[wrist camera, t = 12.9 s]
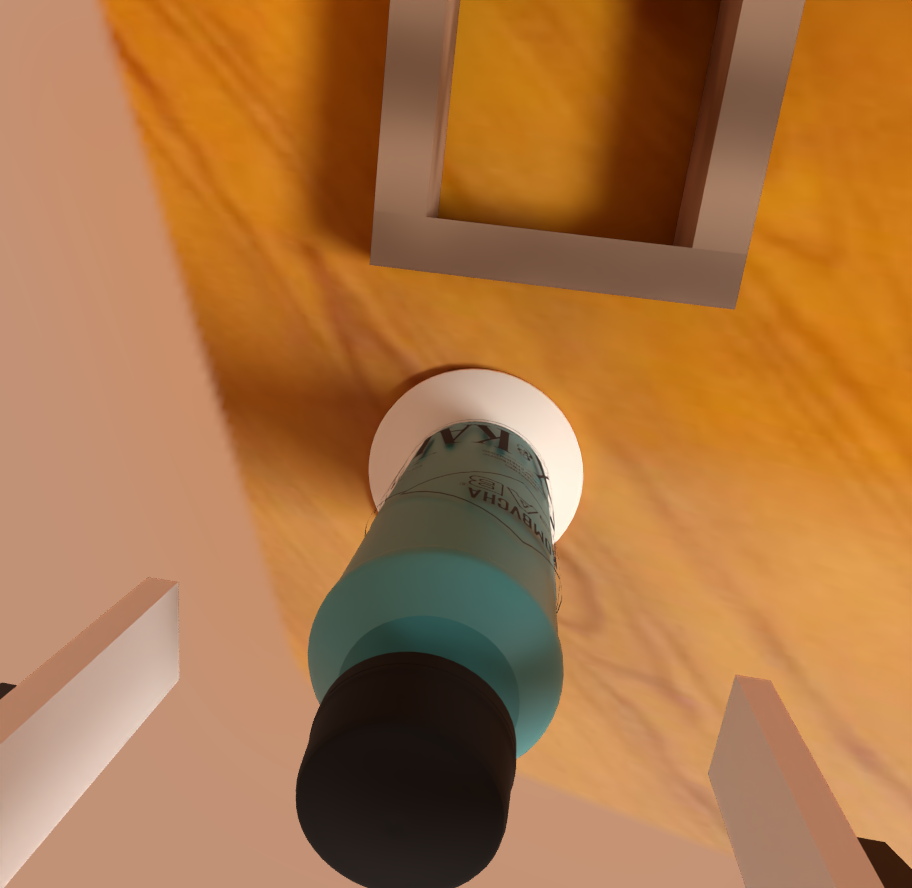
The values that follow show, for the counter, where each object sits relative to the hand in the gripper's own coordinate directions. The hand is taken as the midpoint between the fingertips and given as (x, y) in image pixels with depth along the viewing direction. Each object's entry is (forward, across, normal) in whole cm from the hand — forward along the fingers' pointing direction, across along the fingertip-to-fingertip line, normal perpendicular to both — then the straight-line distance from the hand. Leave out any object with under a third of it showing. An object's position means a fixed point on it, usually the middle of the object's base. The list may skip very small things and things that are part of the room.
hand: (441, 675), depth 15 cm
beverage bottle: (+16, 0, 0) cm, 16 cm away
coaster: (+16, -1, 0) cm, 16 cm away
